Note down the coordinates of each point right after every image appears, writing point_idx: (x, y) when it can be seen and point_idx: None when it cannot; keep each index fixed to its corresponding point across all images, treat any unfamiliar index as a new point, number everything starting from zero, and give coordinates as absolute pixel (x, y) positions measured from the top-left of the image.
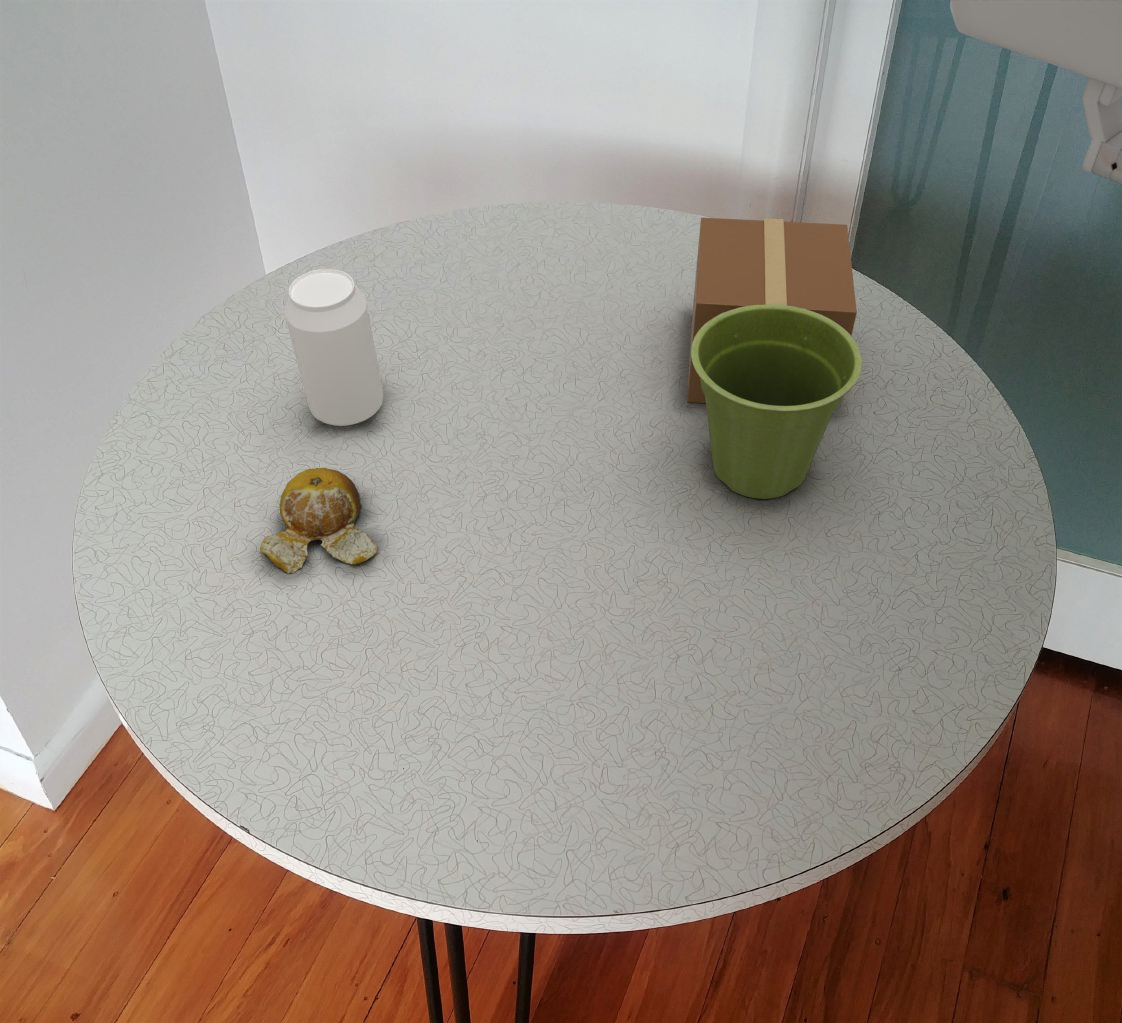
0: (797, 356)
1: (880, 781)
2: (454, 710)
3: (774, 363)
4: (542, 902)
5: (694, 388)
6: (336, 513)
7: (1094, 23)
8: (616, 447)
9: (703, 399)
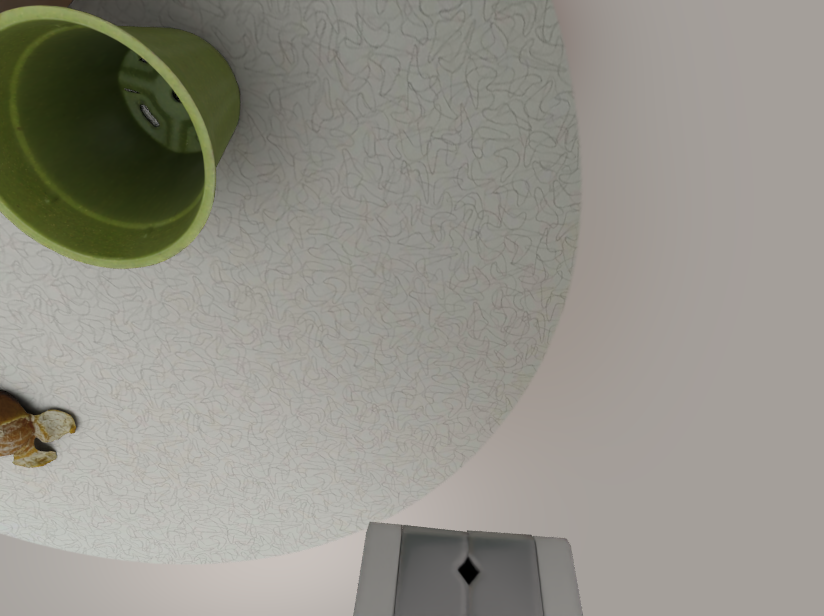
0: (75, 30)
1: (522, 333)
2: (245, 462)
3: (63, 43)
4: (395, 509)
5: None
6: (19, 436)
7: None
8: None
9: None
